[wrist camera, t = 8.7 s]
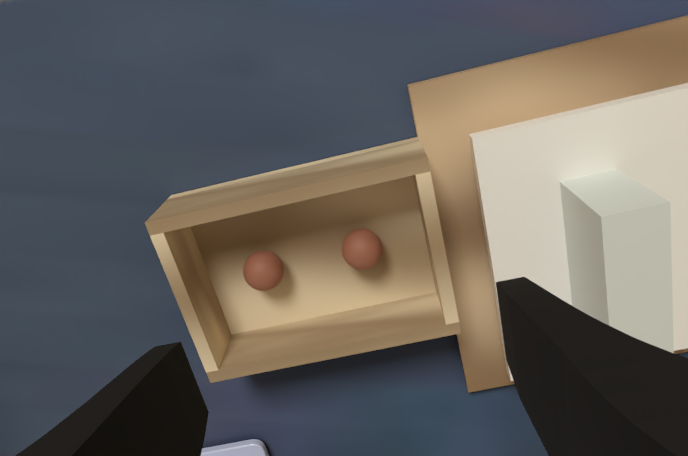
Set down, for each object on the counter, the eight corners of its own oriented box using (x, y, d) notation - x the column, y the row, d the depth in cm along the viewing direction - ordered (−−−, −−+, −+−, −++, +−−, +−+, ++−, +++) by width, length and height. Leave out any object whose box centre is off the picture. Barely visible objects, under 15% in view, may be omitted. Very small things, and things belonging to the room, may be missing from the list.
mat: (715, 340, 24) (720, 345, 24) (466, 386, 25) (468, 392, 25) (718, 7, 19) (726, 7, 19) (407, 84, 20) (407, 86, 20)
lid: (675, 79, 19) (774, 102, 15) (680, 327, 23) (759, 404, 19) (464, 129, 20) (496, 165, 16) (502, 360, 24) (537, 443, 20)
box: (448, 294, 23) (461, 333, 21) (226, 339, 24) (210, 382, 22) (417, 136, 21) (427, 157, 18) (171, 195, 22) (144, 222, 19)
